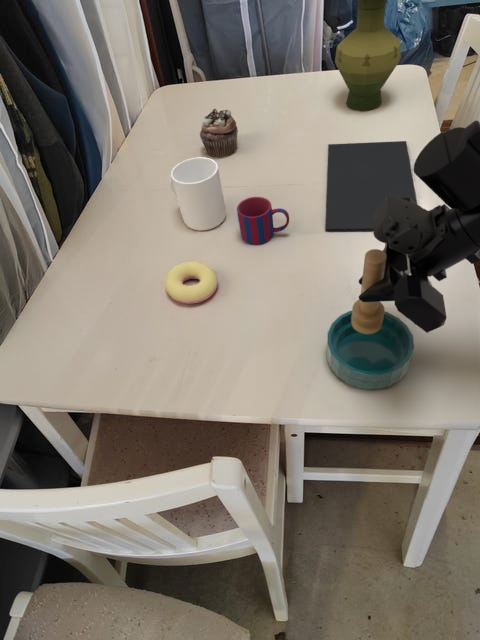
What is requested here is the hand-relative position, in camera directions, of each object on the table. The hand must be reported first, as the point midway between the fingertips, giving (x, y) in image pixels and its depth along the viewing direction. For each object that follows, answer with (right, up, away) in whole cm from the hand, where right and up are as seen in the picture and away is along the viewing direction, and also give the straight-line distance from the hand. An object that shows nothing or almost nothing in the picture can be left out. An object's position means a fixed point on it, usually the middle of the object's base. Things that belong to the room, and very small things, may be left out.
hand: (360, 291), depth 60 cm
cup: (-11, +13, +30) cm, 35 cm away
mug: (-25, +18, +37) cm, 48 cm away
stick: (+2, -4, +5) cm, 7 cm away
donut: (-25, +2, +23) cm, 34 cm away
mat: (+12, +26, +37) cm, 46 cm away
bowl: (+3, -10, +9) cm, 13 cm away
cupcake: (-21, +40, +54) cm, 71 cm away
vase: (+17, +55, +60) cm, 84 cm away
